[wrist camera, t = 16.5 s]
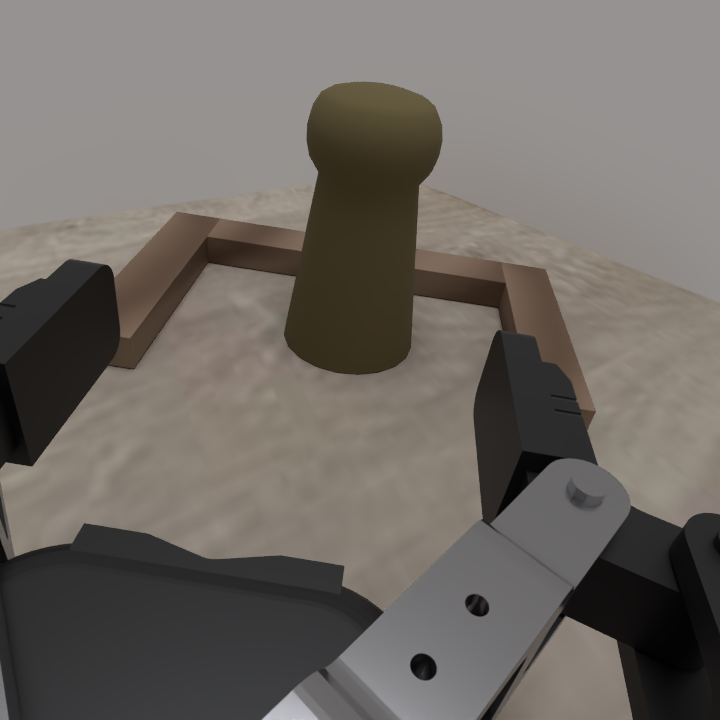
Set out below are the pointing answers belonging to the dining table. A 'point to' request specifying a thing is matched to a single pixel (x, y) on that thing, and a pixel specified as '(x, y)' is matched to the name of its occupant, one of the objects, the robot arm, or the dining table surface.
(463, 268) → the walnut cradle
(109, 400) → the dining table surface
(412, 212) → the cork
